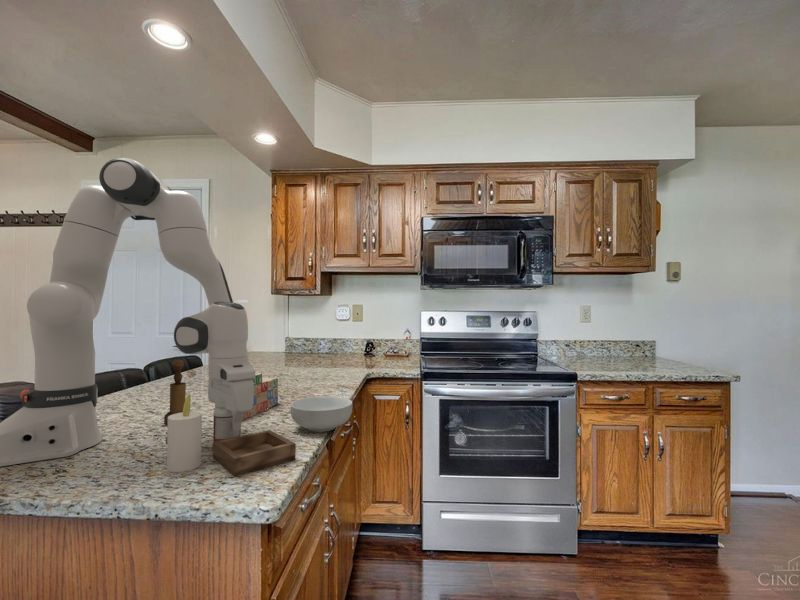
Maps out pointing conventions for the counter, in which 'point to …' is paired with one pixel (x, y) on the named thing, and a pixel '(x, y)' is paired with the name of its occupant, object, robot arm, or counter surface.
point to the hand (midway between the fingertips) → (228, 425)
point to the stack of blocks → (263, 394)
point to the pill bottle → (223, 423)
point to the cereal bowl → (321, 412)
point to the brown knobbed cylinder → (176, 391)
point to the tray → (253, 452)
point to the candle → (184, 439)
